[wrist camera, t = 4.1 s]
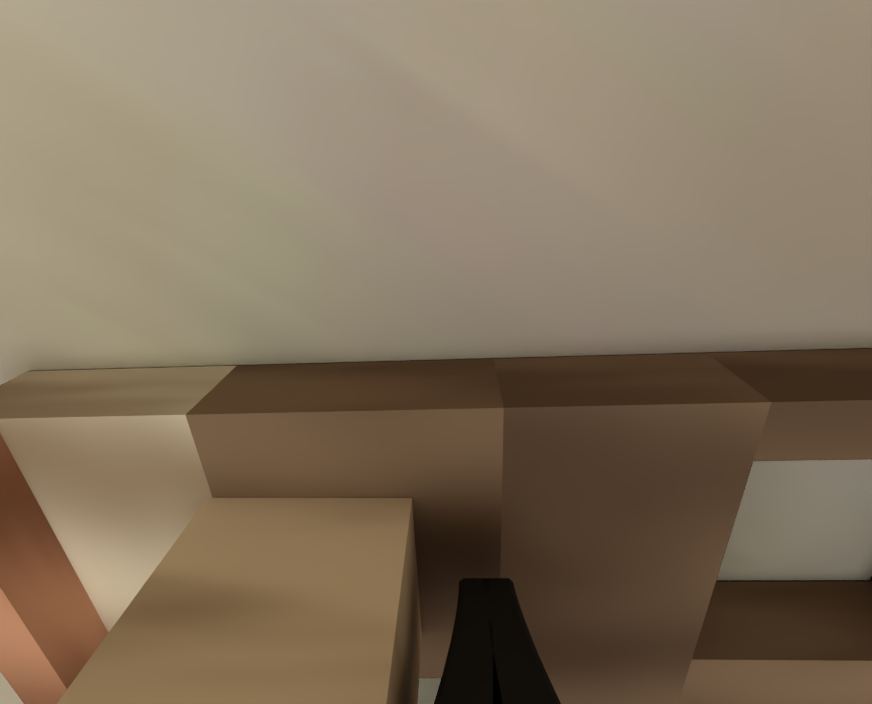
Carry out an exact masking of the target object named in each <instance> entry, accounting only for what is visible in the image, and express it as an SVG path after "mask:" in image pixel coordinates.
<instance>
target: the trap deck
mask: <svg viewBox="0 0 872 704" xmlns="http://www.w3.org/2000/svg"><path fill="white" fill-rule="evenodd" d="M860 459H872V348H870V349H833V350H796V351H759V352H722V353H685V354H648V355H611V356H574V357H537V358H500V359H463V360H426V361H389V362H352V363H315V364H278V365H242V366H205V367H168V368H131V369H94V370H57V371H28V372H26V373H24V374H22V375H20V376H18V377H16V378H14V379H12V380H10V381H8V382H6V383H4V384H2V385H0V672H1V673H2V674H3V676H4V677H5V678H6V680H7V681H8V682H9V684H10V685H11V687H12V688H13V689H14V691H15V692H16V693H17V695H18V696H19V697H20V699H21V700H22V701H23V703H24V704H57V703H58V701H59V700H60V698H61V697H62V696H63V694H64V693H65V692H66V690H67V689H68V688H69V686H70V685H71V683H72V682H73V681H74V679H75V678H76V677H77V675H78V674H79V673H80V671H81V670H82V668H83V667H84V666H85V664H86V663H87V662H88V660H89V659H90V657H91V656H92V655H93V653H94V652H95V651H96V649H97V648H98V647H99V645H100V644H101V642H102V641H103V640H104V638H105V637H106V636H107V634H108V633H109V632H110V630H111V629H112V627H113V626H114V625H115V623H116V622H117V621H118V619H119V618H120V616H121V615H122V614H123V612H124V611H125V610H126V608H127V607H128V606H129V604H130V603H131V601H132V600H133V599H134V597H135V596H136V595H137V593H138V592H139V591H140V589H141V588H142V586H143V585H144V584H145V582H146V581H147V580H148V578H149V577H150V576H151V574H152V573H153V571H154V570H155V569H156V567H157V566H158V565H159V563H160V562H161V560H162V559H163V558H164V556H165V555H166V554H167V552H168V551H169V550H170V548H171V547H172V545H173V544H174V543H175V541H176V540H177V539H178V537H179V536H180V535H181V533H182V532H183V530H184V529H185V528H186V526H187V525H188V524H189V522H190V521H191V520H192V518H193V517H194V515H195V514H196V513H197V511H198V510H199V509H200V507H201V506H202V504H203V503H204V502H205V500H206V499H207V498H412V505H413V519H414V533H415V547H416V560H417V574H418V588H419V601H420V615H421V629H422V641H421V656H420V670H419V678H442V674H443V670H444V666H445V662H446V658H447V654H448V650H449V646H450V642H451V637H452V632H453V627H454V622H455V616H456V610H457V602H458V591H459V581H460V580H462V579H463V578H509V579H510V580H511V581H513V584H514V588H515V592H516V595H517V598H518V602H519V605H520V608H521V611H522V613H523V616H524V619H525V622H526V624H527V627H528V630H529V632H530V635H531V637H532V640H533V642H534V645H535V647H536V650H537V652H538V654H539V657H540V659H541V661H542V663H543V666H544V668H545V670H546V672H547V674H548V677H549V679H550V681H551V683H552V686H553V688H554V690H555V692H556V694H557V696H558V698H559V700H560V703H561V704H872V580H871V581H760V582H716V580H717V576H718V573H719V570H720V567H721V563H722V560H723V557H724V554H725V551H726V547H727V544H728V541H729V538H730V534H731V531H732V528H733V525H734V521H735V518H736V515H737V512H738V509H739V505H740V502H741V499H742V496H743V492H744V489H745V486H746V483H747V479H748V476H749V473H750V470H751V466H752V463H753V461H792V460H860Z"/></svg>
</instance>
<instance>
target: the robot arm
mask: <svg viewBox="0 0 872 704" xmlns="http://www.w3.org/2000/svg"><path fill="white" fill-rule="evenodd" d="M434 704H561V703H560V700H559V698H558V696H557V694H556V692H555V690H554V688H553V686H552V683H551V681H550V679H549V677H548V674H547V672H546V670H545V668H544V666H543V663H542V661H541V659H540V657H539V654H538V652H537V650H536V647H535V645H534V642H533V640H532V637H531V635H530V632H529V630H528V627H527V624H526V622H525V619H524V616H523V613H522V611H521V608H520V605H519V602H518V598H517V595H516V592H515V588H514V584H513V581H511V580H510V579H509V578H463V579H462V580H460V581H459V591H458V602H457V610H456V616H455V622H454V627H453V632H452V637H451V642H450V646H449V650H448V654H447V658H446V662H445V666H444V670H443V674H442V678H441V682H440V685H439V689H438V692H437V695H436V699H435V702H434Z"/></svg>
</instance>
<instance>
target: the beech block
mask: <svg viewBox="0 0 872 704" xmlns="http://www.w3.org/2000/svg"><path fill="white" fill-rule="evenodd" d="M421 641H422V629H421V615H420V601H419V588H418V574H417V560H416V547H415V533H414V519H413V505H412V498H207V499H206V500H205V502H204V503H203V504H202V506H201V507H200V509H199V510H198V511H197V513H196V514H195V515H194V517H193V518H192V520H191V521H190V522H189V524H188V525H187V526H186V528H185V529H184V530H183V532H182V533H181V535H180V536H179V537H178V539H177V540H176V541H175V543H174V544H173V545H172V547H171V548H170V550H169V551H168V552H167V554H166V555H165V556H164V558H163V559H162V560H161V562H160V563H159V565H158V566H157V567H156V569H155V570H154V571H153V573H152V574H151V576H150V577H149V578H148V580H147V581H146V582H145V584H144V585H143V586H142V588H141V589H140V591H139V592H138V593H137V595H136V596H135V597H134V599H133V600H132V601H131V603H130V604H129V606H128V607H127V608H126V610H125V611H124V612H123V614H122V615H121V616H120V618H119V619H118V621H117V622H116V623H115V625H114V626H113V627H112V629H111V630H110V632H109V633H108V634H107V636H106V637H105V638H104V640H103V641H102V642H101V644H100V645H99V647H98V648H97V649H96V651H95V652H94V653H93V655H92V656H91V657H90V659H89V660H88V662H87V663H86V664H85V666H84V667H83V668H82V670H81V671H80V673H79V674H78V675H77V677H76V678H75V679H74V681H73V682H72V683H71V685H70V686H69V688H68V689H67V690H66V692H65V693H64V694H63V696H62V697H61V698H60V700H59V701H58V703H57V704H417V700H418V685H419V670H420V656H421Z"/></svg>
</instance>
